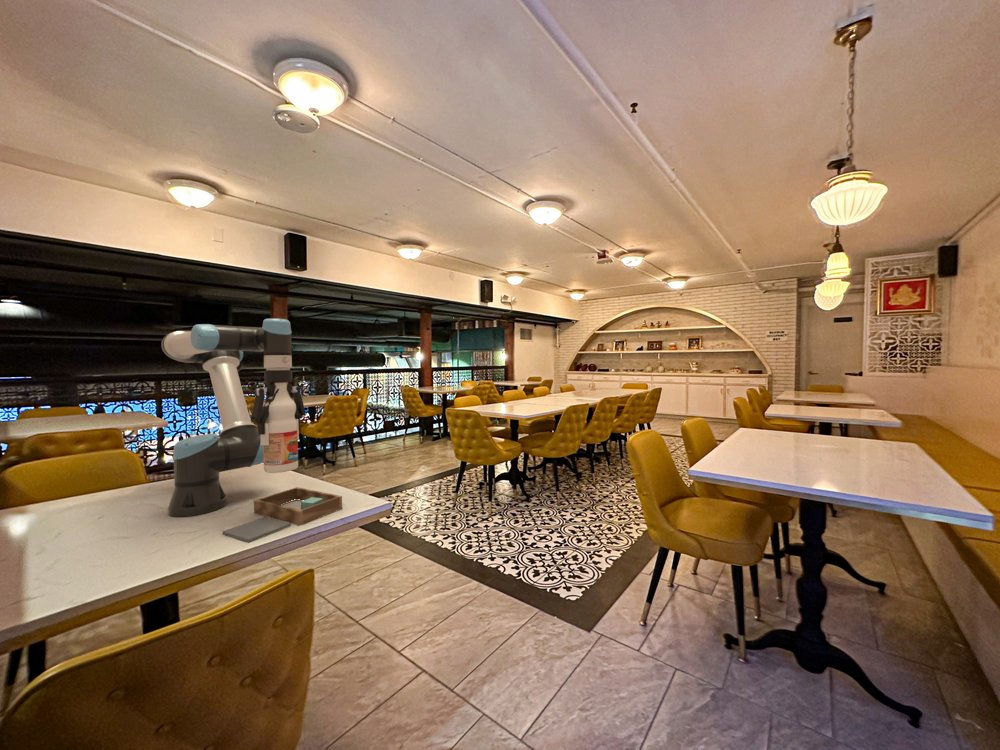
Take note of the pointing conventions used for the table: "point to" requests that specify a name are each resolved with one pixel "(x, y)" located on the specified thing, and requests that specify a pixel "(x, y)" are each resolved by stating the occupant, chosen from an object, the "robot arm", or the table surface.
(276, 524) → the slate coaster
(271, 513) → the brown wooden tray
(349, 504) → the table surface
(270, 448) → the fruit juice
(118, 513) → the table surface
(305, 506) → the teal block
